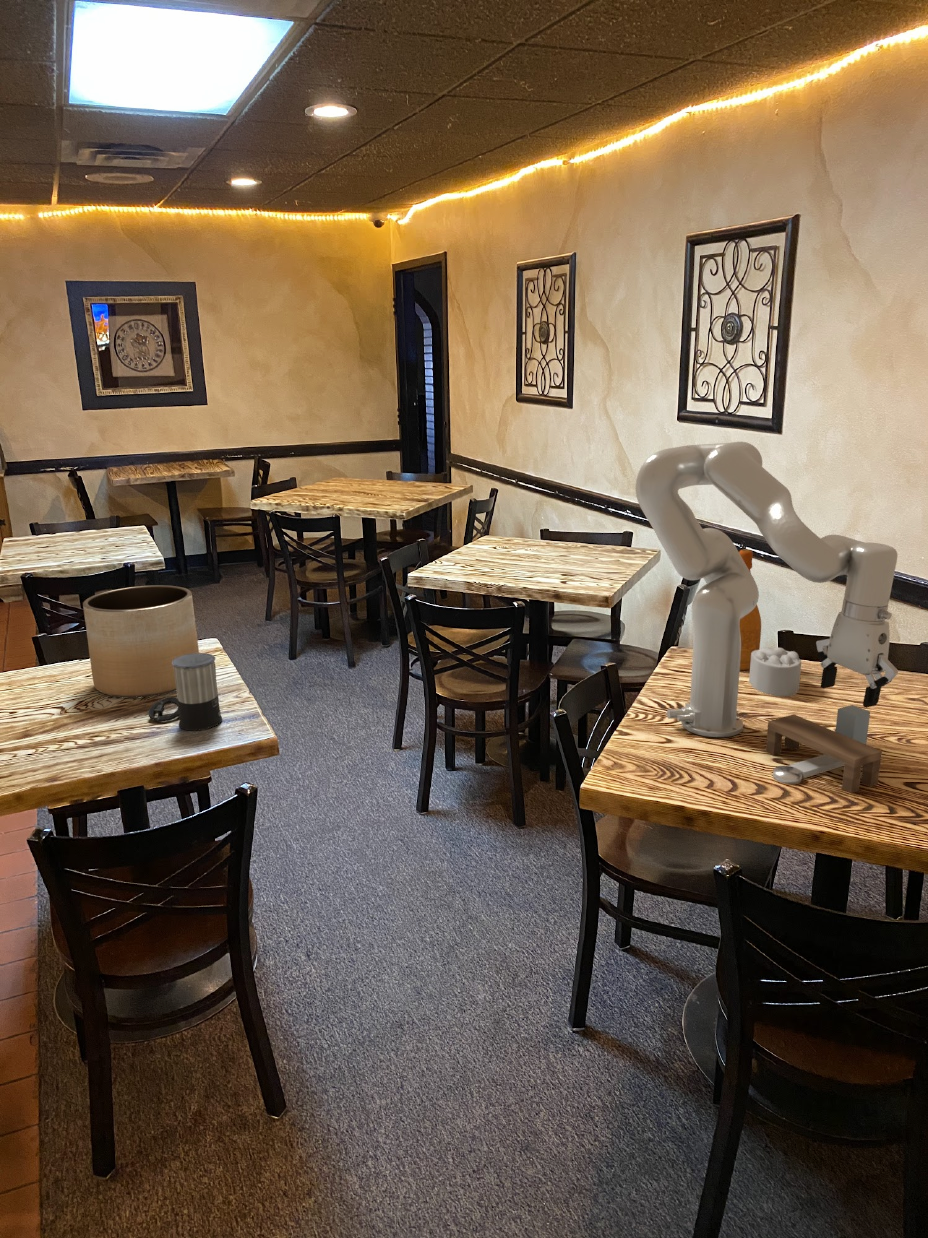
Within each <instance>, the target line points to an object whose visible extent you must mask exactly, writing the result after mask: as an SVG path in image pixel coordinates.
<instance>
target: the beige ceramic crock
mask: <svg viewBox="0 0 928 1238" xmlns="http://www.w3.org/2000/svg"><path fill="white" fill-rule="evenodd" d="M82 607H83V615H84V621H85V627H86V628H85V629H86V638H87V644H88V653H89V654H88V655H89V662H90V669H91V676H92V682H93V686H94V688H95V689H96V690H97V691H99V692H100V693H102V694H105V695H108V696H110V697H115V698H122V697H123V699H136V698H138V697H141V698H150V697H157V696H161V694H162V695H165V693H166V694H170V693H172V692H177V690H176V682H175V674H174V666H173V665H172V661H173V660H174V659H175V658H177V657H180V656H183V655H187V654H194V653H200V650H199V641H198V640H199V639H198V634H197V624H196V619H195V618H196V617H195V610H194V602H193V593H192V591H191V590H190V589H188V588H186V587H181V586H174V585H139V586H137V585H136V586H131V587H130V586H129V587H123V588H118V589H113V590H107V591H104V592H101V593H98V594H95V595H92V596H89V597H88V598H87V599H85V600H84V601H83V602H82ZM149 696H150V697H149ZM138 699H139V698H138Z"/></svg>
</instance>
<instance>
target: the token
mask: <svg viewBox="0 0 928 1238" xmlns="http://www.w3.org/2000/svg"><path fill="white" fill-rule="evenodd" d="M772 772H773V773H772V778H773V779H774V780H775V781H776V782H779V783H781V784H787V785H797V784H800V783H801V782H802V779H803V777H802V772H801V771H800V770H799V769H797V768H794V767H790V765H779V766H775V767H774V768H773V771H772Z"/></svg>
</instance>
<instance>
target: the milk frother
mask: <svg viewBox="0 0 928 1238" xmlns="http://www.w3.org/2000/svg"><path fill="white" fill-rule="evenodd" d="M215 660H216V656H215V655H214V654H211V653H207V652H205V653H203V652H201V653H200V652H199V653H194V654H187V655H183V656H180V657H177V658H175V659H174V660H173V661H172V665H173V666H174V674H175V682H176V696H177V697H175V696H168V697H163V698H162V699H160V700H158V701H156V702H154V703H153V704H152V705H151V706H150V708H149V710H148V717H149V719H150V720H152V721H155V722H169V721H172V720H174V719H177V718H178V719H179V722H178V726H179V727H180V729H183V730H185V731H194V732H195V731H203V730H208V729H207V728H209V729H211V727H212V728H215V727H216V725H217V726H219V724H221V723H222V721H223V717H222V714H221V708H220V702H219V701H220V699H219V692H218V691H219V690H218V682H217V669H216V662H215ZM168 704H174V705H176V706H177V709H176V710H175V711H174V712H173V713H171V714H167V715H164V711H165V707H166V705H168ZM221 720H222V721H221ZM220 722H221V723H220ZM218 723H219V724H218ZM214 726H215V727H214Z"/></svg>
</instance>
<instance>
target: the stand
mask: <svg viewBox="0 0 928 1238" xmlns="http://www.w3.org/2000/svg"><path fill="white" fill-rule="evenodd" d="M835 731H836V730H832V729H830V728H827V727H825V726H823V725H820V724H818V723H816V722H813V721H811V720H809V719H806V718H803V717H802V716H800V715H796V714H794V713H793V714H791V715H787V716H783V717H779V718H775V719H771V720H768V721H767V732H766V745H765V752H766V753H768V754H769V755H771V756H777V755H780V754H782V745H783V744H782V743H783V736H784V745H783V747H784V748H786V749H789V750H790V751H795V750H797V749H799V748H800V744H801V745H804V746H806V747H808V748H810V749H813V750H814V751H817V752H819V753H821V754H822V755H828V756H830V757H832V758H834V759H836V760H839V761H841V762H843V763H845V764H844V766H843V774H842V783H841V790H844V791H845V792H847V793H849V794H853V793H856V792H859V791H860V784H861V783H862V784H863V785H865V786H868V787H871V788H872V787H874V786H877V785H879V778H880V770H881V762H882V756H883V751H882V750H880V749H878V748H874V747H873V746H871V745H868V744H867V743H866V744H863V743H861V742H859V741H856V740H854V739H852V738H849V737H847V736H844V735H842V734H840V733H837V732H835Z"/></svg>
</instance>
